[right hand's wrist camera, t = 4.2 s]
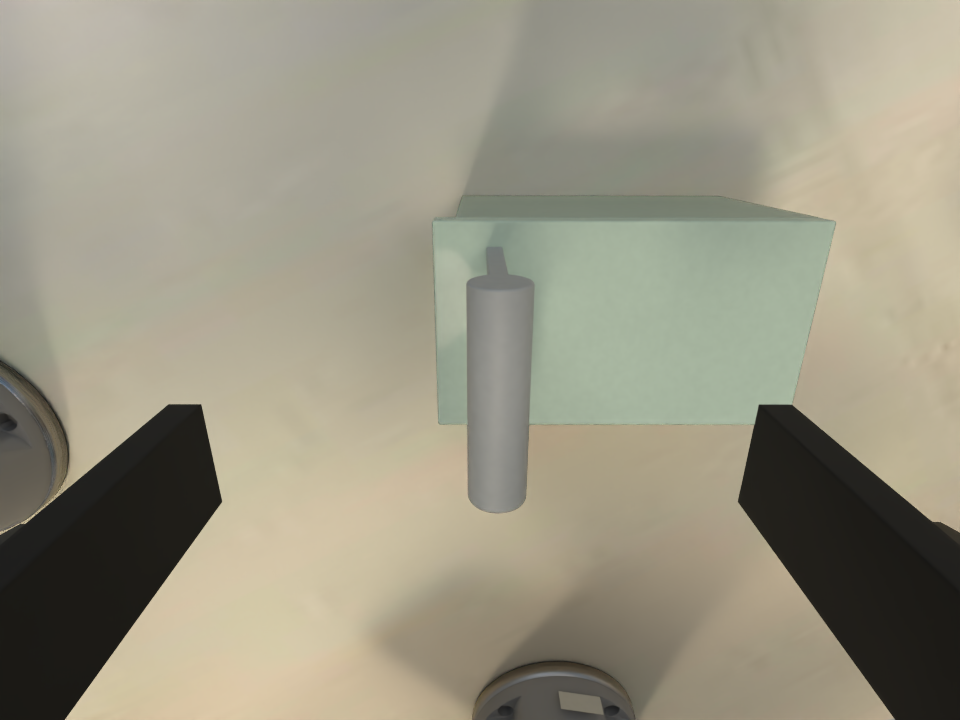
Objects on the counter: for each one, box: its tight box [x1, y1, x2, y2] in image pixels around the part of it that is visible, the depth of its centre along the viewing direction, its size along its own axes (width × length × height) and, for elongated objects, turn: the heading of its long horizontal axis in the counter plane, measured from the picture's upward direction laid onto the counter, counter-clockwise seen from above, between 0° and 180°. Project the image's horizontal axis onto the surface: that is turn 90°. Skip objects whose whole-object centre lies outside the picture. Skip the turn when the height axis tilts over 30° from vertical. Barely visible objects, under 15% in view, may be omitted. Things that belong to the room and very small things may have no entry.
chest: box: [456, 196, 818, 218], centre depth 31 cm, size 16×10×11 cm, turn 90°
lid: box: [432, 217, 836, 513], centre depth 21 cm, size 17×10×9 cm, turn 90°
